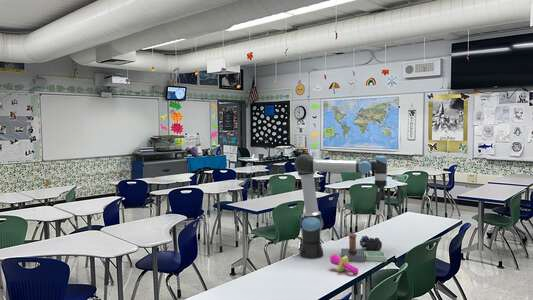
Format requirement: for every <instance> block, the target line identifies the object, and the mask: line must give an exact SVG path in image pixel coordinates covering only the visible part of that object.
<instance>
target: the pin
mask: <svg viewBox="0 0 533 300" xmlns="http://www.w3.org/2000/svg"><path fill="white" fill-rule="evenodd" d="M348 239H349V241H348V243H349V245H348V249H349V253H356V249H357V240H356V239H357V233H350V234H348Z"/></svg>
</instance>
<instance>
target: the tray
mask: <svg viewBox="0 0 533 300" xmlns="http://www.w3.org/2000/svg"><path fill="white" fill-rule="evenodd" d="M364 254H365V262H369V263H370V262H372V263H374V262H376V263H377V262H378V263H387V261H388V259H387V255H386V251H380V250H378V251H369V250H364Z"/></svg>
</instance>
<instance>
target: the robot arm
mask: <svg viewBox="0 0 533 300" xmlns="http://www.w3.org/2000/svg"><path fill="white" fill-rule="evenodd" d="M293 165H294V168H295V171H297V175H298V176H299V177H300V180H301V187H302V194H303V195H302V197H303V202H304V210H305V212H304V214H303V219H302V220H301V221H302V222H301V232H302V233H301V238H302V239H301V240H302V241H301V247H300V248H299V255H300V257H302V258H304V259H310V260H311V259H313V260H314V259H319V258H322V257H323V256H324V251H323V248H322V244H321V231H322V229H323V227H324V220H323V218H322V212H321V211H319V207H318V199H317V193H316V186H315V178H314V175H315V174H316V172H325V173H326V172H330V173H331V172H332V173H333V172H334V173H359V174H360V173H361V174H368V173H369V172H370V171H374V186H375V187H377V188H376V191H375V192H376V195H375V202H374V205H375V215H381V211H385V201H386V195H385V187H386V186H387V180H388V179H387V177H388V174H387V172H388V158H387V156H385V155H375V157H374V158H357V159H356V160H354V159H353V160H351V159H349V160H348V159H347V160H345V159H318V158H317V159H316V157H313V156H312V155H311V154H307V153H303V154H300V155H299V156H298V157H296V159H295V160H294V163H293Z"/></svg>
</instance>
